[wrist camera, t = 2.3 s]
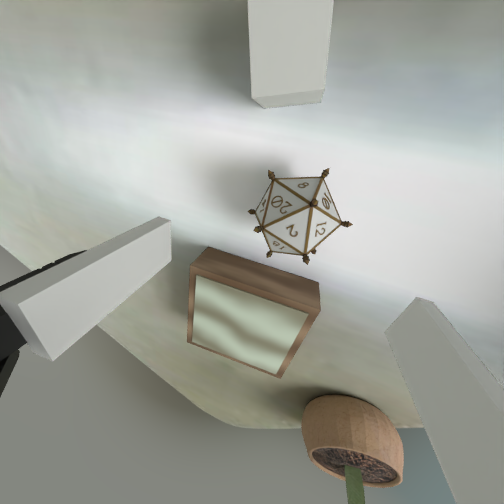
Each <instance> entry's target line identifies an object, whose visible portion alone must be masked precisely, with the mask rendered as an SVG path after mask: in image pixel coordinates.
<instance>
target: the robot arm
mask: <svg viewBox="0 0 504 504" xmlns="http://www.w3.org/2000/svg"><path fill="white" fill-rule="evenodd" d="M170 261H171V220H168V219H164V218H161V217H157V218H154V219H152V220H150V221H148V222H146V223H144V224H142V225H140V226H138V227H136V228H133V229H131V230H129V231H127V232H125V233H123V234H121V235H119V236H117V237H115V238H112V239H110V240H108V241H106V242H104V243H102V244H100V245H98V246H96V247H94V248H92V249H89V250H85V251H81V252H77V253H73V254H69V255H67V256H65V257H63V258H61V259H58V260H56V261H55V262H54V263H50V264H48V265H45V266H43V267H42V268H41V269H37V270H34V271H32V272H30V273H28V274H26V275H23V276H21V277H19V278H17V279H15V280H13V281H10V282H8V283H6V284H4V285H2V286H0V397H1V394H2V392H3V390H4V388H5V386H6V384H7V382H8V379H9V377H10V375H11V373H12V371H13V368H14V366H15V364H16V362H17V360H18V357H19V353H20V352H19V350H18V349H19V348H20V347H21V346H23V345H24V344H26V343H27V344H28V345H29V347H30V348H31V350H32V351H33V353H35V354H37V355H40V356H42V357H44V358H46V359H49V360H51V361H54V360H55V359H56V358H57V357H58V356H60V355H61V354H62V353H63V352H64V351H66V349H68V348H69V347H70V346H71V345H73V344H74V343H75V342H76V341H77V340H78V339H80V338H81V337H82V336H83V335H84V334H85V333H87V332H88V331H89V330H90V329H91V328H93V327H94V326H95V325H96V324H97V323H99V322H100V321H101V320H102V319H103V318H104V317H106V316H107V315H108V314H109V313H110V312H111V311H113V310H114V309H115V308H116V307H117V306H119V305H120V304H121V303H122V302H123V301H124V300H126V299H127V298H128V297H129V296H130V295H132V294H133V293H134V292H135V291H136V290H137V289H139V288H140V287H141V286H142V285H143V284H144V283H146V282H147V281H148V280H149V279H150V278H152V277H153V276H154V275H155V274H156V273H157V272H159V271H160V270H161V269H162V268H163V267H165V266H166V265H167V264H168V263H169V262H170ZM385 334H386V337H387V339H388V342H389V344H390V346H391V349H392V351H393V353H394V356H395V358H396V361H397V363H398V365H399V368H400V370H401V373H402V375H403V377H404V380H405V382H406V385H407V387H408V389H409V392H410V394H411V396H412V399H413V401H414V404H415V406H416V408H417V411H418V413H419V416H420V418H421V420H422V423H423V425H424V428H425V430H426V432H427V434H428V437H429V439H430V442H431V444H432V447H433V449H434V451H435V454H436V456H437V459H438V461H439V463H440V466H441V468H442V470H443V473H444V475H445V477H446V480H447V482H448V485H449V487H450V490H451V492H452V494H453V497H454V499H455V501H456V504H504V389H503V388H502V386H501V385H500V384H499V383H498V381H497V380H496V379H495V378H494V376H493V375H492V374H491V373H490V372H489V370H488V369H487V368H486V367H485V365H484V364H483V363H482V362H481V360H480V359H479V358H478V357H477V355H476V354H475V353H474V352H473V351H472V349H471V348H470V347H469V346H468V344H467V343H466V342H465V341H464V339H463V338H462V337H461V336H460V335H459V333H458V332H457V331H456V330H455V328H454V327H453V326H452V325H451V323H450V322H449V321H448V320H447V318H446V317H445V316H444V315H443V314H442V312H441V311H440V310H439V309H438V307H437V306H436V305H435V304H434V302H431V301H428V300H425V299H421V298H418V297H416V298H415V299H414V300H413V302H412V303H411V304H410V305H409V306H408V307H407V308H406V309H405V310H404V311H403V312H402V314H401V315H400V316H399V317H398V318H397V319H396V320H395V321H394V322H393V323H392V325H391V326H390V327H389V328H388V329H387V330H386V331H385Z"/></svg>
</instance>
